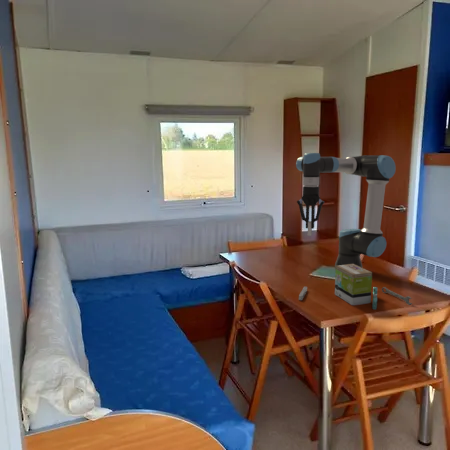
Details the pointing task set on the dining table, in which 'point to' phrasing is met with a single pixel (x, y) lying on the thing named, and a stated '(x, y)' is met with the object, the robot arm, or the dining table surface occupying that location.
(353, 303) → the tea box
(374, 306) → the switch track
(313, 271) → the dining table surface
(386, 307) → the dining table surface
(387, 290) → the combination wrench
